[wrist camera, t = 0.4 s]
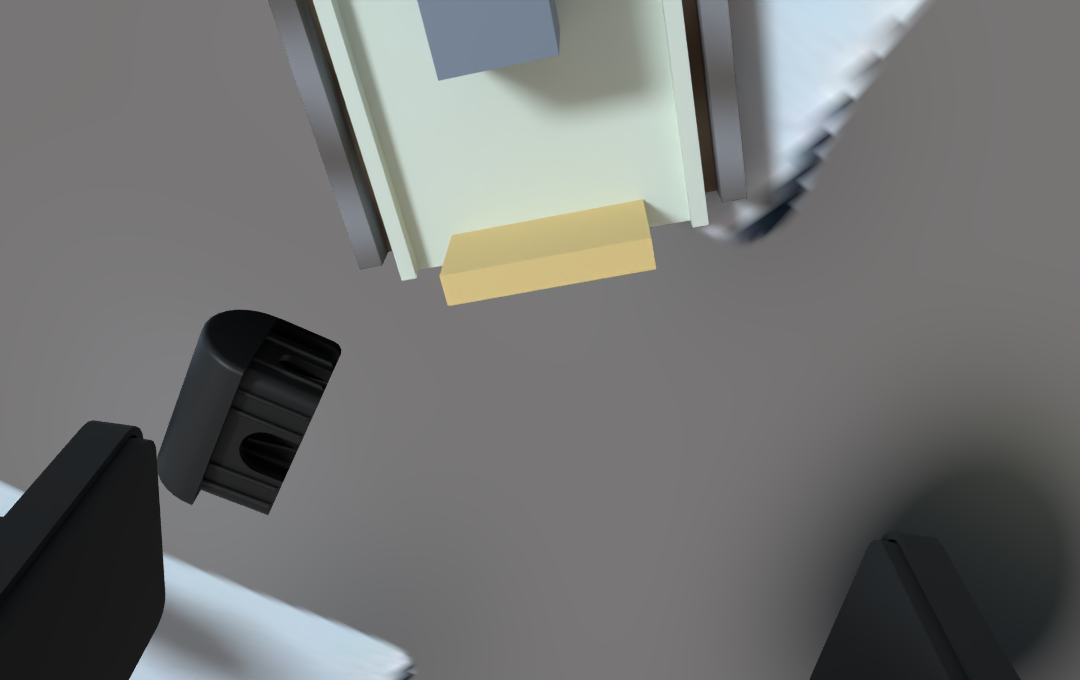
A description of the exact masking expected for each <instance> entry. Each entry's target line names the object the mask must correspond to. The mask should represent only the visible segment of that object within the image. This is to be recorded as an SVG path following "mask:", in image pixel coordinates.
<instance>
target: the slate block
mask: <svg viewBox="0 0 1080 680" xmlns="http://www.w3.org/2000/svg"><path fill="white" fill-rule="evenodd" d="M417 2H418V5H419V9H420V13H421V17H422V21H423V25H424V28H425V32H426V36H427V40H428V44H429V47H430V51H431V55H432V59H433V63H434V66H435V70H436V74H437V78H438V81H440V80H445V79H449V78H454V77H459V76H464V75H468V74H473V73H478V72H483V71H487V70H492V69H497V68H502V67H506V66H511V65H516V64H521V63H525V62H530V61H535V60H540V59H544V58H549V57H554V56H558V55H559V46H560V25H559V20H558V15H557V10H556V4H555V0H417Z"/></svg>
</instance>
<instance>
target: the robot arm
mask: <svg viewBox="0 0 1080 680" xmlns="http://www.w3.org/2000/svg"><path fill="white" fill-rule="evenodd" d="M164 604H165V582H164V566H163V550H162V535H161V519H160V504H159V487H158V472H157V456H156V447H155V444H154V442H153V441H151V440H146V439H143V434H142V432H141V430H140V428H138V427H136V426H129V425H122V424H114V423H108V422H101V421H89V422H87V423H86V424H85V425H84V426H83V427H82V428H81V429H80V430H79V431H78V432H77V434H76V435H75V436H74V437H73V438H72V439H71V440H70V442H69V443H68V444H67V445H66V446H65V447H64V448H63V449H62V451H61V452H60V453H59V454H58V455H57V456H56V457H55V459H54V460H53V461H52V462H51V463H50V465H49V466H48V467H47V468H46V469H45V470H44V471H43V472H42V474H41V475H40V476H39V477H38V478H37V479H36V480H35V482H34V483H33V484H32V485H31V486H30V487H29V489H28V490H27V491H26V492H25V493H24V494H23V495H22V496H21V498H20V499H19V500H18V501H17V502H16V503H15V504H14V506H13V507H12V508H11V509H10V510H9V511H8V513H7V514H6V515H5V516H4V517H0V680H129V678H130V677H131V675H132V673H133V671H134V669H135V667H136V665H137V663H138V662H139V660H140V658H141V656H142V654H143V652H144V650H145V649H146V647H147V645H148V643H149V641H150V639H151V637H152V636H153V634H154V632H155V630H156V628H157V626H158V624H159V622H160V619H161V616H162V613H163V609H164ZM810 680H1020V678H1019V676H1018V674H1017V673H1016V671H1015V669H1014V668H1013V666H1012V664H1011V662H1010V661H1009V659H1008V657H1007V656H1006V654H1005V652H1004V650H1003V649H1002V647H1001V645H1000V643H999V642H998V640H997V639H996V637H995V635H994V633H993V631H992V630H991V628H990V626H989V625H988V623H987V621H986V619H985V618H984V616H983V614H982V613H981V611H980V609H979V607H978V606H977V604H976V602H975V601H974V599H973V597H972V595H971V594H970V592H969V590H968V589H967V587H966V585H965V583H964V582H963V580H962V578H961V577H960V575H959V573H958V572H957V570H956V568H955V566H954V565H953V563H952V561H951V560H950V558H949V556H948V554H947V553H946V551H945V549H944V547H943V546H942V544H941V543H940V542H939V540H938V539H937V538H934V537H933V536H927V535H919V534H912V533H905V532H898V531H889V532H887V533H886V534H885V535H884V536H883V538H882V539H881V540H873V541H872V542H871V543H870V545H869V546H868V548H867V550H866V552H865V555H864V557H863V559H862V561H861V564H860V566H859V568H858V571H857V573H856V575H855V577H854V580H853V582H852V584H851V587H850V589H849V591H848V593H847V595H846V598H845V600H844V602H843V605H842V607H841V609H840V611H839V614H838V616H837V618H836V620H835V623H834V625H833V627H832V629H831V632H830V634H829V636H828V639H827V641H826V643H825V645H824V648H823V650H822V652H821V655H820V657H819V659H818V661H817V664H816V666H815V668H814V670H813V673H812V675H811V678H810Z"/></svg>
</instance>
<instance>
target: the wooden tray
mask: <svg viewBox="0 0 1080 680" xmlns="http://www.w3.org/2000/svg"><path fill="white" fill-rule="evenodd" d="M313 3H314V6H315V9H316V12H317V15H318V19H319V22H320V25H321V28H322V31H323V34H324V37H325V41H326V44H327V47H328V50H329V53H330V56H331V59H332V63H333V66H334V69H335V72H336V75H337V78H338V81H339V85H340V88H341V91H342V94H343V97H344V100H345V103H346V107H347V110H348V113H349V116H350V119H351V122H352V125H353V129H354V132H355V135H356V138H357V141H358V144H359V147H360V151H361V154H362V157H363V160H364V163H365V166H366V169H367V173H368V176H369V179H370V182H371V185H372V188H373V191H374V195H375V198H376V201H377V204H378V207H379V210H380V213H381V217H382V220H383V223H384V226H385V229H386V232H387V235H388V239H389V242H390V245H391V248H392V251H393V254H394V257H395V261H396V264H397V267H398V270H399V273H400V276H401V279H402V281H403V280H409V279H414V278H417V275H418V273H419V270H422V269H427V268H433V267H438V266H442V269H441V273H440V280H441V283H442V287H443V290H444V293H445V297H446V300H447V304H448V306H451V305H456V304H462V303H468V302H474V301H479V300H485V299H490V298H496V297H502V296H507V295H513V294H519V293H523V292H530V291H535V290H541V289H547V288H552V287H558V286H564V285H570V284H575V283H581V282H587V281H592V280H598V279H603V278H609V277H615V276H620V275H625V274H631V273H637V272H643V271H649V270H654V269H656V264H655V258H654V251H653V245H652V238H651V234H650V229H649V228H651V227H657V226H662V225H667V224H673V223H679V222H684V221H691V224H692V227H693V228H694V227H700V226H705V225H709V222H708V214H707V206H706V198H705V190H704V181H703V173H702V165H701V157H700V148H699V140H698V132H697V124H696V115H695V107H694V99H693V91H692V83H691V74H690V66H689V58H688V50H687V41H686V33H685V25H684V17H683V8H682V0H555V4H556V10H557V15H558V20H559V25H560V46H559V55H558V56H554V57H549V58H544V59H540V60H535V61H530V62H525V63H521V64H516V65H511V66H506V67H502V68H497V69H492V70H487V71H483V72H478V73H473V74H468V75H464V76H459V77H454V78H449V79H445V80H440V81H438V78H437V74H436V70H435V66H434V63H433V59H432V55H431V51H430V47H429V44H428V40H427V36H426V32H425V28H424V25H423V21H422V17H421V13H420V9H419V5H418V2H417V0H313Z"/></svg>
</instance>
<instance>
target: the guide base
mask: <svg viewBox="0 0 1080 680" xmlns="http://www.w3.org/2000/svg"><path fill="white" fill-rule="evenodd" d="M268 2H269V5H270V8H271V10H272V13H273V16H274V19H275V22H276V25H277V28H278V30H279V34H280V37H281V40H282V43H283V45H284V48H285V52H286V54H287V57H288V60H289V63H290V66H291V69H292V72H293V75H294V78H295V81H296V83H297V87H298V90H299V93H300V96H301V98H302V101H303V104H304V107H305V110H306V113H307V116H308V119H309V122H310V125H311V127H312V131H313V134H314V136H315V139H316V142H317V145H318V148H319V151H320V154H321V157H322V160H323V163H324V166H325V169H326V172H327V174H328V177H329V180H330V183H331V186H332V189H333V192H334V195H335V198H336V201H337V203H338V206H339V210H340V212H341V215H342V218H343V221H344V224H345V227H346V230H347V233H348V236H349V239H350V242H351V245H352V248H353V251H354V253H355V256H356V259H357V262H358V265H359V268H360V269H366V268H371V267H377V266H382V264H383V262H384V260H385V258H386V255H387V253H388V252H389V251H392V248H391V245H390V242H389V239H388V235H387V232H386V229H385V226H384V223H383V220H382V217H381V213H380V210H379V207H378V204H377V201H376V198H375V195H374V191H373V188H372V185H371V182H370V179H369V176H368V173H367V169H366V166H365V163H364V160H363V157H362V154H361V151H360V147H359V144H358V141H357V138H356V135H355V132H354V129H353V125H352V122H351V119H350V116H349V113H348V110H347V107H346V103H345V100H344V97H343V94H342V91H341V88H340V85H339V81H338V78H337V75H336V72H335V69H334V66H333V63H332V59H331V56H330V53H329V50H328V47H327V44H326V41H325V37H324V34H323V31H322V28H321V25H320V22H319V19H318V15H317V12H316V9H315V6H314V3H313V0H268ZM682 8H683V17H684V25H685V33H686V41H687V50H688V58H689V66H690V74H691V83H692V91H693V99H694V107H695V115H696V124H697V132H698V140H699V148H700V157H701V165H702V173H703V181H704V190H705V192H710V191H715V190H717V191H718V194H719V196H720V198H721V200H722V203H723V202H728V201H734V200H739V199H744V198H747V193H746V183H745V172H744V162H743V152H742V141H741V131H740V121H739V110H738V100H737V90H736V79H735V69H734V59H733V49H732V38H731V28H730V18H729V7H728V0H682Z"/></svg>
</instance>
